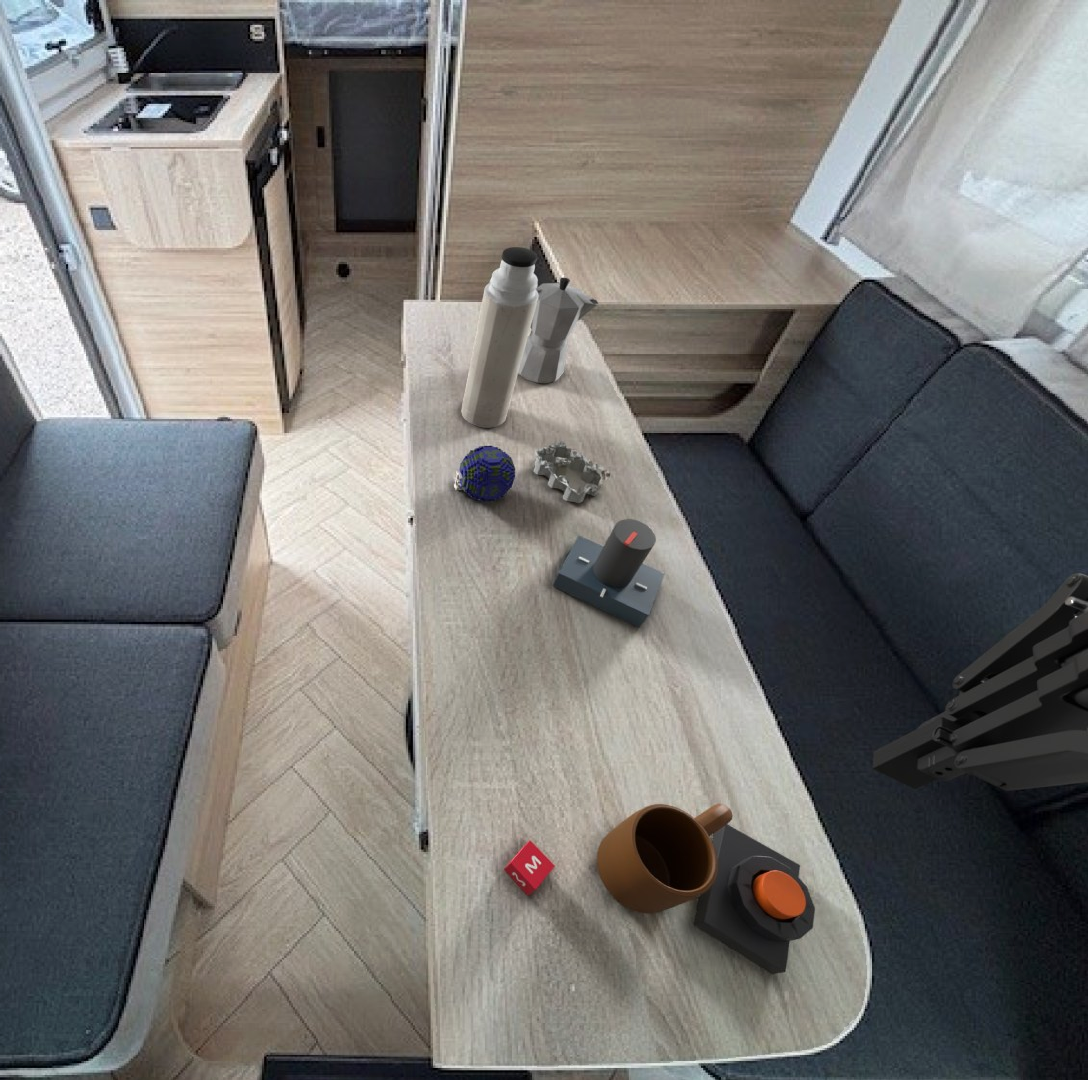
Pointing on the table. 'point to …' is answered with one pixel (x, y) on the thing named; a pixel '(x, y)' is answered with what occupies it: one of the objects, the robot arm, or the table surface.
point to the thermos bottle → (501, 338)
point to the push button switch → (750, 902)
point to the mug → (661, 857)
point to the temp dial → (624, 553)
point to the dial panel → (619, 602)
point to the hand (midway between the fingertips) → (894, 769)
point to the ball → (485, 473)
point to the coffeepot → (552, 330)
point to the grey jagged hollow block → (569, 471)
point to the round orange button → (779, 895)
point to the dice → (529, 868)
